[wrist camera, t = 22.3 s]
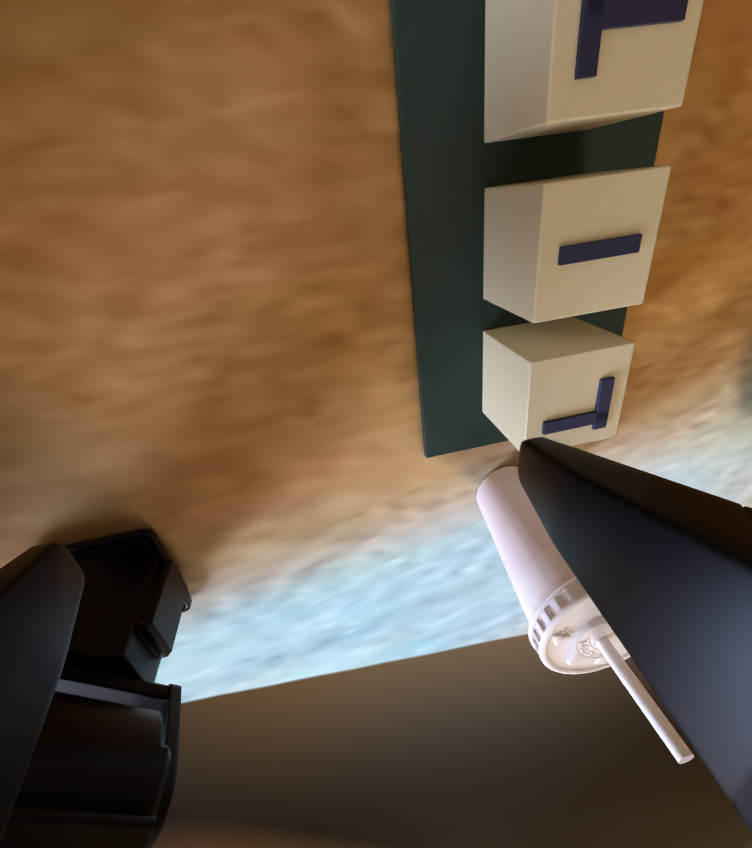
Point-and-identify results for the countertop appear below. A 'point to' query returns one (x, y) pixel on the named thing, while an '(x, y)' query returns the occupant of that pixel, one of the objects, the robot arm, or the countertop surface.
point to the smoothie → (558, 598)
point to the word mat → (472, 204)
